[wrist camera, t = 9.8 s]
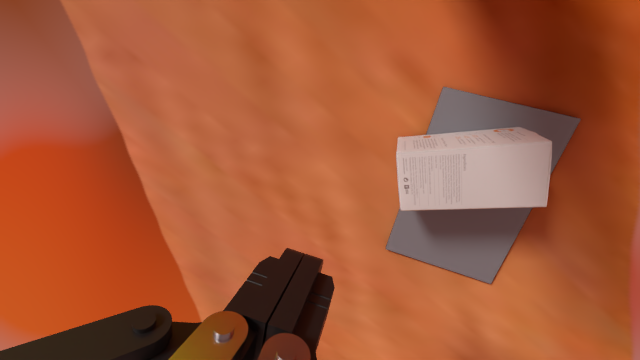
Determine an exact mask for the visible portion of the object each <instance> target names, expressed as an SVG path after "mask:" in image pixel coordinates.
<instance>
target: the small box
mask: <svg viewBox="0 0 640 360" xmlns="http://www.w3.org/2000/svg"><path fill="white" fill-rule="evenodd" d="M551 159H552V141H551V140H548V139H546V138H544V137H542V136H540V135H538V134H537V133H535V132H532V131H529V130H526V129H524V128H521V127H512V128H500V129H489V130H477V131H466V132H454V133H443V134H432V135H420V136H408V137H399V138H398V143H397V152H396V161H397V176H398V190H399V200H400V209H401V211H418V210H451V209H491V208H530V207H547V200H548V190H549V182H550V171H551Z"/></svg>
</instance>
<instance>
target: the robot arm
mask: <svg viewBox="0 0 640 360" xmlns="http://www.w3.org/2000/svg"><path fill="white" fill-rule="evenodd" d="M322 265H323V259H320V258H317V257H314V256H311V255H308V254H304V253H301V252H298V251H295V250H292V249H289V248H286V250H285V251H284V253H283V254H282V256H281V257H280V259H277V258H274V257H271V256H270V257H268V258H266V259H265V260H263V261H261V262H259V264H258V265H257V266H256V268H255V269H254V270H253V272H252V273H251V274H250V276H249V277H248V278H247V281H245V282H244V284H243V285H242V286H241V288H240V289H239V290H238V292H237V293H236V295H235V296H234V297H233V299H232V300H231V301H230V303H229V304H228V305H227V307H226V308H225V309H224V310H223V311H221V312H217V313H214V314H212V315H210V316H209V317H207V318H206V319H205V320H204V321H203V322H200V323H184V322H172V317H171V314H170V313H169V311H168V310H167V309H165V308H163V307H160V306H153V305H152V306H143V307H140V308H136V309H134V310H130V311H127V312H124V313H121V314H117V315H114V316H111V317H108V318H105V319H102V320H98V321H95V322H92V323H89V324H85V325H82V326H79V327H76V328H73V329H69V330H66V331H63V332H60V333H57V334H53V335H51V336H47V337H44V338H41V339H38V340H35V341H31V342H28V343H25V344H21V345H18V346H15V347H12V348H9V349H6V350H2V351H0V360H317V358H316V350H317V346H318V343H319V340H320V337H321V334H322V330H323V327H324V324H325V321H326V317H327V314H328V310H329V306H330V303H331V299H332V295H333V291H334V284H333V279H332V277H331V276H328V275H325V274H322V273H321V269H322Z"/></svg>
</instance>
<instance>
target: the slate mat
mask: <svg viewBox="0 0 640 360" xmlns="http://www.w3.org/2000/svg"><path fill="white" fill-rule="evenodd" d="M580 120H581V119H579V118H575V117H571V116H567V115H562V114H558V113H554V112H550V111H545V110H541V109H537V108H532V107H528V106H524V105H520V104H515V103H511V102H507V101H503V100H498V99H494V98H490V97H485V96H481V95H477V94H473V93H468V92H464V91H460V90H456V89H451V88H447V87H443V89H442V92H441V94H440V97H439V100H438V103H437V106H436V108H435V111H434V114H433V117H432V119H431V122H430V125H429V128H428V131H427V133H426V135H432V134H443V133H454V132H466V131H477V130H489V129H500V128H512V127H521V128H524V129H526V130H529V131H532V132H535V133H537V134H538V135H540V136H542V137H544V138H546V139H548V140H551V141H552V159H551V171H550V175H551V173H552V171H553V169H554V167H555V166H556V164H557V162H558V160H559V158H560V157H561V155H562V153H563V151H564V149H565V147H566V146H567V144H568V142H569V140H570V138H571V136H572V135H573V133H574V131H575V129H576V127H577V125H578V124H579V122H580ZM532 208H533V207H530V208H491V209H451V210H418V211H401V209H399V212H398V215H397V217H396V220H395V223H394V226H393V229H392V231H391V234H390V237H389V240H388V243H387V245H386V249H387V250H390V251H393V252H396V253H399V254H402V255H405V256H408V257H411V258H414V259H417V260H420V261H423V262H426V263H429V264H432V265H435V266H438V267H441V268H444V269H447V270H450V271H453V272H456V273H459V274H462V275H465V276H468V277H471V278H474V279H477V280H480V281H483V282H486V283H489V284H491V283H492V281H493V279H494V277H495V275H496V273H497V272H498V270H499V268H500V266H501V264H502V262H503V261H504V259H505V257H506V255H507V253H508V251H509V250H510V248H511V246H512V244H513V242H514V241H515V239H516V237H517V235H518V233H519V231H520V230H521V228H522V226H523V224H524V222H525V220H526V219H527V217H528V215H529V213H530V211H531V209H532Z"/></svg>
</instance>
